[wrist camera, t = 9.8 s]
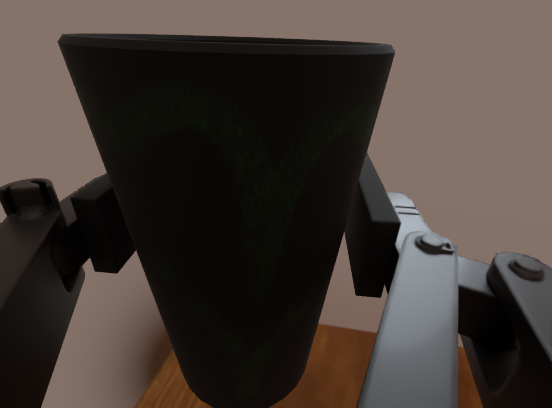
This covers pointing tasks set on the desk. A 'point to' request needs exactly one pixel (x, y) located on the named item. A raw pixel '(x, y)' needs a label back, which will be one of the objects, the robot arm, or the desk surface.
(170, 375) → the desk surface
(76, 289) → the robot arm
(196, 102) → the cup
